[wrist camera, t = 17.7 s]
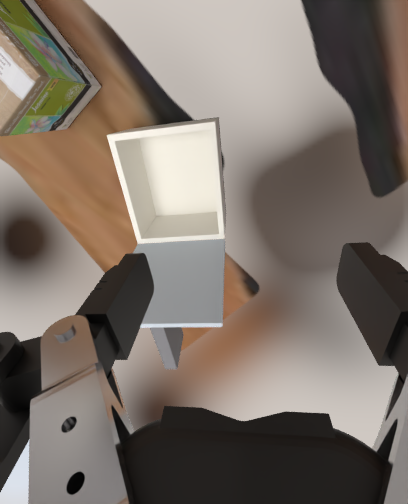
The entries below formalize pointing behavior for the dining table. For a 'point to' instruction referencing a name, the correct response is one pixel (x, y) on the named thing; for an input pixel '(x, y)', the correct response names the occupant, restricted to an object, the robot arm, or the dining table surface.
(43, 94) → the tea box
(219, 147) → the carton
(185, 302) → the square plate with stem
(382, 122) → the dining table surface
